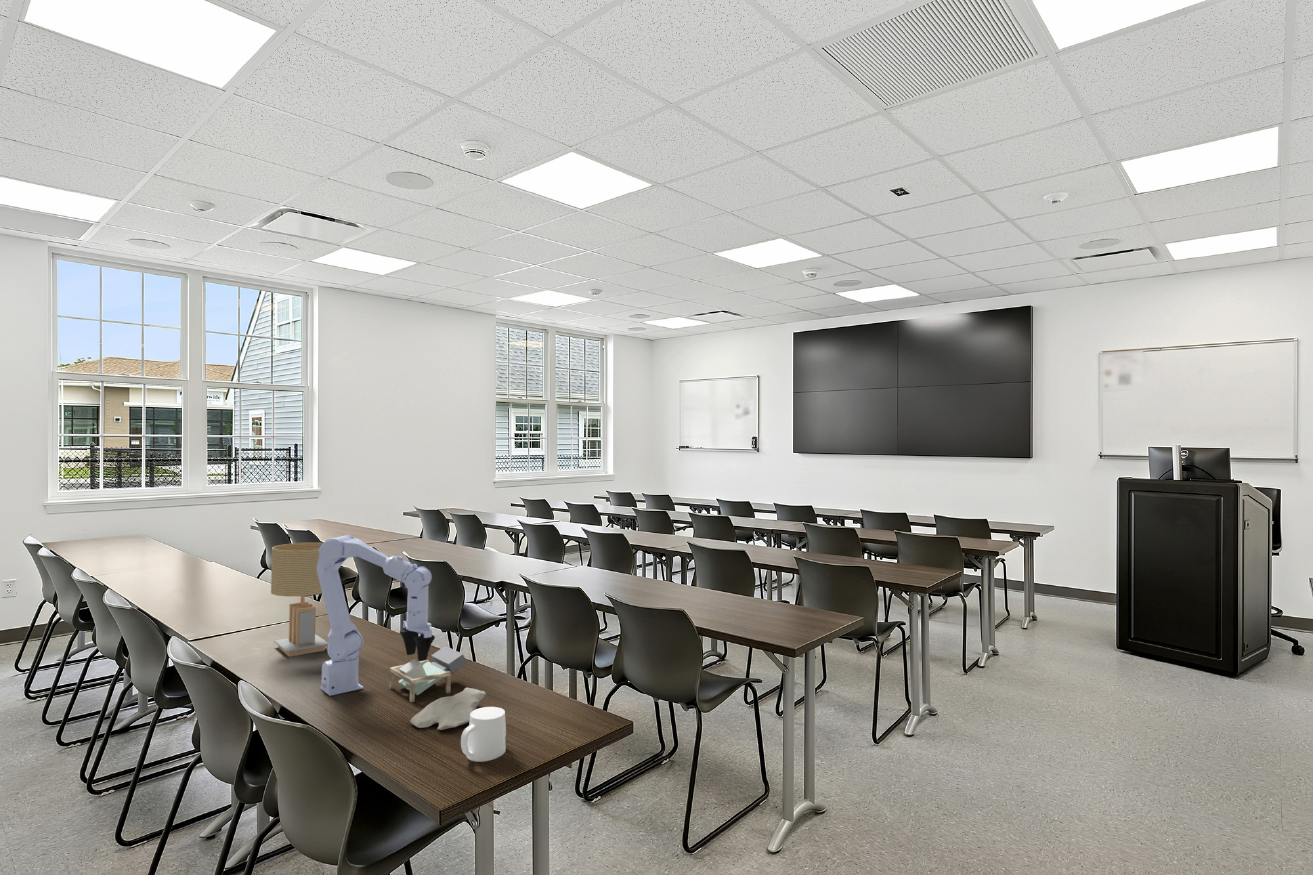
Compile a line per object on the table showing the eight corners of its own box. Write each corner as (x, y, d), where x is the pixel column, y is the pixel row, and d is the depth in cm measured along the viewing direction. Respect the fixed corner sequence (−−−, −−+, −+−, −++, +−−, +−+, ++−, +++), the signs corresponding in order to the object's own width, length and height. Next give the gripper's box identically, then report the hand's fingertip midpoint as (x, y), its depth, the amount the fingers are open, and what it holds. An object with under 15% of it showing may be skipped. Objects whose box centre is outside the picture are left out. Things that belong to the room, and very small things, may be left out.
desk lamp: (262, 647, 243) (265, 545, 243) (322, 638, 256) (325, 541, 256) (277, 661, 228) (280, 552, 229) (340, 650, 241) (342, 547, 242)
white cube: (412, 687, 200) (406, 672, 199) (405, 683, 204) (399, 668, 202) (427, 677, 203) (421, 662, 202) (420, 673, 207) (413, 658, 205)
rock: (506, 715, 187) (473, 696, 197) (507, 699, 187) (473, 681, 196) (436, 747, 171) (403, 725, 180) (436, 729, 171) (403, 708, 180)
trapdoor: (448, 655, 217) (444, 645, 216) (468, 664, 208) (463, 654, 207) (401, 687, 206) (396, 677, 205) (419, 698, 198) (414, 688, 197)
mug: (491, 703, 170) (514, 710, 166) (490, 741, 170) (514, 750, 166) (451, 718, 160) (475, 726, 156) (450, 759, 160) (474, 769, 156)
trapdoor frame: (427, 679, 213) (427, 659, 213) (450, 692, 203) (450, 671, 203) (389, 688, 205) (389, 667, 205) (411, 702, 195) (411, 680, 195)
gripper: (442, 612, 201) (441, 660, 201) (419, 603, 211) (418, 649, 211) (418, 616, 196) (417, 665, 196) (396, 607, 207) (395, 653, 206)
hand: (416, 657), depth 203 cm, fingers open, 7 cm apart
